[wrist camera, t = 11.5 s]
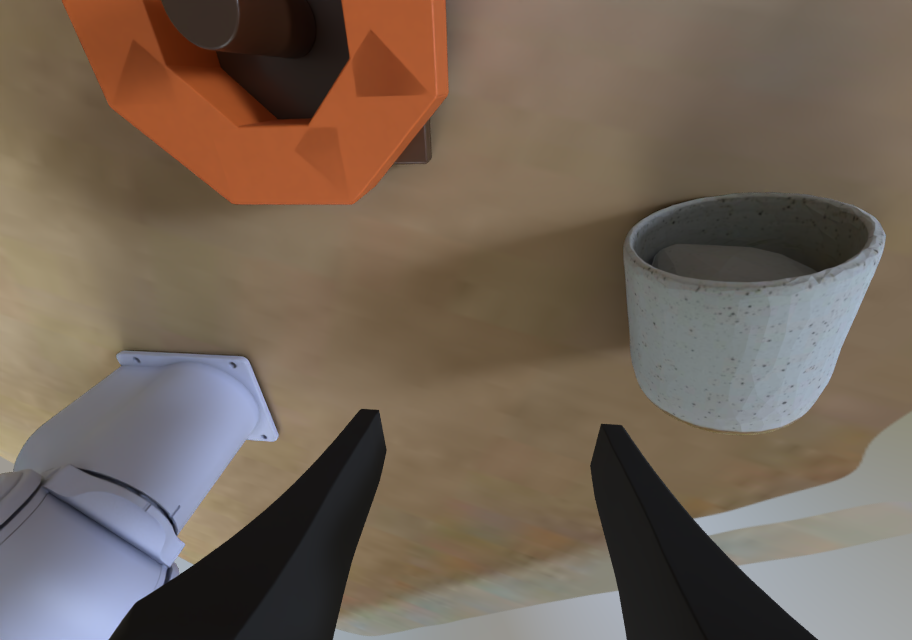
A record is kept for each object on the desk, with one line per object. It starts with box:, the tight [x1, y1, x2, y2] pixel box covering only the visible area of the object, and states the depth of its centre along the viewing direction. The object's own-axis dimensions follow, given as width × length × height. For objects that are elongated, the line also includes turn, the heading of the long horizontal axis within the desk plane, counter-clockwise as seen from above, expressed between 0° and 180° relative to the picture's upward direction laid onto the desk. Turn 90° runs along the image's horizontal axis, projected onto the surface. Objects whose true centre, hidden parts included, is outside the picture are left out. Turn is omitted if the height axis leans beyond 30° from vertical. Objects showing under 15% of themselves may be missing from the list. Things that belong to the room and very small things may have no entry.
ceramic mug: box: [623, 192, 886, 435], centre depth 15 cm, size 11×8×8 cm
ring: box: [62, 0, 448, 204], centre depth 13 cm, size 12×12×3 cm
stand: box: [161, 0, 432, 164], centre depth 13 cm, size 10×10×6 cm
